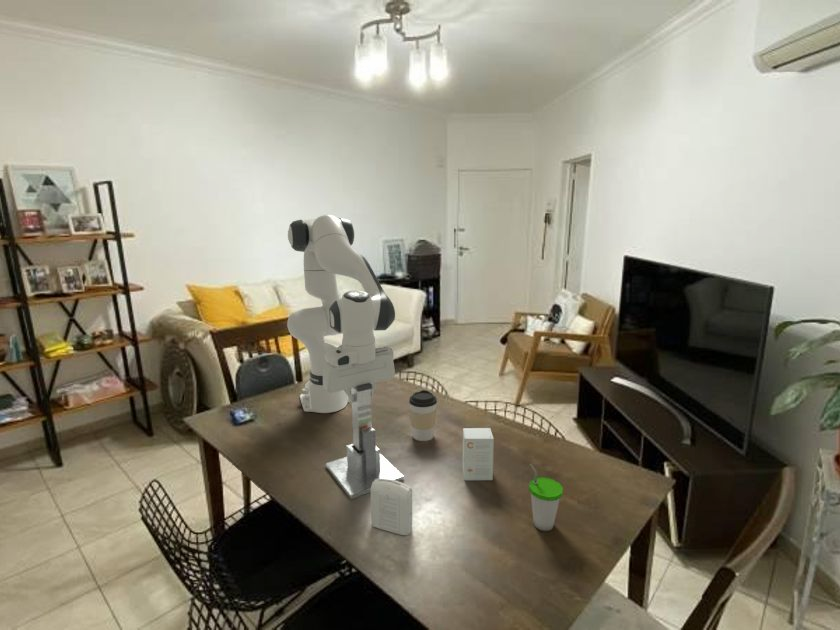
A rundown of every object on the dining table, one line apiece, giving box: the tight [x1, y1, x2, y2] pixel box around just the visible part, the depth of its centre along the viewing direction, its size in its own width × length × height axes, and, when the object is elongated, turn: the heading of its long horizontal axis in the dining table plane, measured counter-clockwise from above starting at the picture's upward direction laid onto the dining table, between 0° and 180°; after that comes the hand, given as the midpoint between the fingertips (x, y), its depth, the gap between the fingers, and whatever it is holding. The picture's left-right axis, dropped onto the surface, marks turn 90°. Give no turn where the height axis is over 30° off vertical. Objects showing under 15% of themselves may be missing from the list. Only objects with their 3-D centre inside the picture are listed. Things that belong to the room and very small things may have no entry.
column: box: [350, 383, 373, 451], centre depth 126 cm, size 6×4×19 cm, turn 32°
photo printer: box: [370, 479, 413, 536], centre depth 107 cm, size 10×4×12 cm, turn 69°
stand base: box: [325, 427, 405, 500], centre depth 128 cm, size 18×16×16 cm
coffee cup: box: [408, 389, 438, 442], centre depth 149 cm, size 9×9×15 cm
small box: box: [462, 427, 495, 481], centre depth 127 cm, size 8×6×13 cm
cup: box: [528, 463, 564, 532], centre depth 107 cm, size 8×8×15 cm
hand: (360, 399), depth 125 cm, fingers closed on column, 4 cm apart
